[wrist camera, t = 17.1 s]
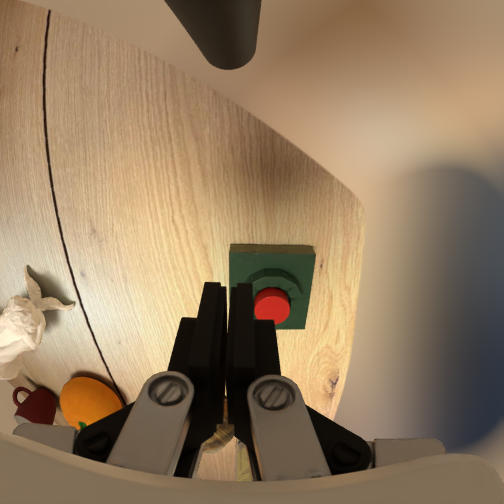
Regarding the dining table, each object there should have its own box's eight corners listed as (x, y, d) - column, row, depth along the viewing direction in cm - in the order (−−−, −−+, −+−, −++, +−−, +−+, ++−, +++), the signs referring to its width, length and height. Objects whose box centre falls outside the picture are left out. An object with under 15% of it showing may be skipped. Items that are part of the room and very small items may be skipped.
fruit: (69, 392, 45) (51, 430, 36) (70, 358, 41) (46, 401, 32) (122, 417, 47) (109, 458, 38) (132, 387, 43) (116, 435, 34)
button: (254, 286, 31) (255, 296, 29) (289, 287, 31) (291, 296, 29) (253, 315, 32) (254, 324, 31) (286, 315, 32) (288, 325, 31)
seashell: (201, 430, 48) (197, 465, 41) (169, 404, 45) (161, 442, 37) (254, 417, 46) (255, 455, 39) (225, 388, 43) (222, 430, 35)
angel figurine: (69, 263, 39) (88, 339, 34) (12, 317, 41) (26, 380, 36) (-3, 236, 26) (4, 331, 22) (-46, 305, 28) (-37, 378, 24)
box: (230, 243, 33) (228, 260, 29) (312, 245, 33) (319, 261, 29) (230, 318, 37) (229, 338, 33) (302, 318, 37) (307, 339, 33)
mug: (22, 383, 45) (3, 414, 36) (25, 368, 43) (4, 402, 34) (60, 410, 48) (44, 443, 39) (67, 398, 46) (49, 434, 37)
